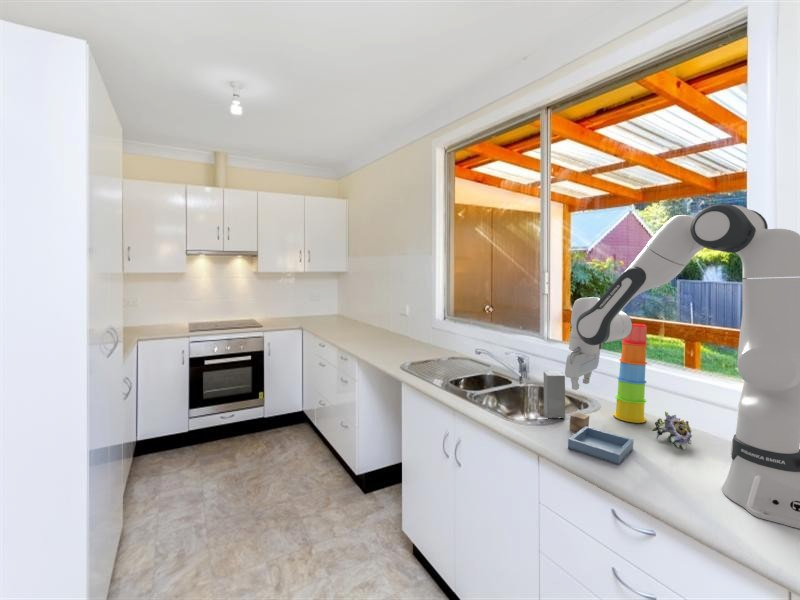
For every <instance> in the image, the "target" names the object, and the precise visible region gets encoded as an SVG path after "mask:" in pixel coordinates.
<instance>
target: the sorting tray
mask: <svg viewBox="0 0 800 600" xmlns="http://www.w3.org/2000/svg"><path fill="white" fill-rule="evenodd" d="M567 449H568V450H570V451H575V452H578V453H580V454H583V455H586V456H589V457H592V458H595V459H598V460H602V461H604V462H607V463H610V464H614V465H617V466H620V465H621V464H622V462H624V460H626V458H627V457H628V456H629V455H630V454H631V452H632V451H633V450H634V439H632V438H630V437H625V436H621V435H619V434H615V433H612V432H608V431H605V430H601V429H597V428H594V427H590V426H589V427H587V426H585V427H584V428H582V429H581V430H580V431H578V432H575V433H574V434H573V435H572V436H570V437H569V438H568V441H567Z"/></svg>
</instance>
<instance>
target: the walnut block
mask: <svg viewBox="0 0 800 600" xmlns="http://www.w3.org/2000/svg"><path fill="white" fill-rule="evenodd" d="M589 425H590V415H588V414H585V413H581V412H577V411H575V412H573V413H572V414H570V419H569V431H572V432H575V433H577V432H578V431H580V430H581V429H582V428H584V427H585V426H587V427H590V426H589Z"/></svg>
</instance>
